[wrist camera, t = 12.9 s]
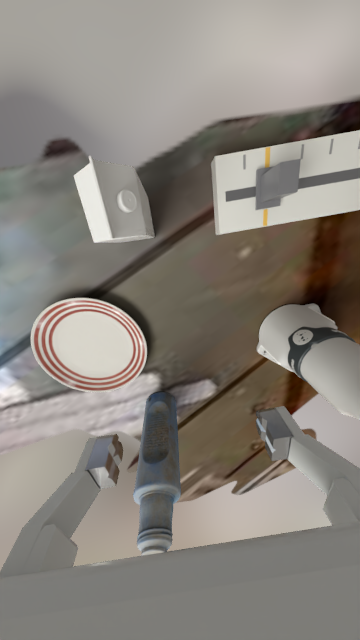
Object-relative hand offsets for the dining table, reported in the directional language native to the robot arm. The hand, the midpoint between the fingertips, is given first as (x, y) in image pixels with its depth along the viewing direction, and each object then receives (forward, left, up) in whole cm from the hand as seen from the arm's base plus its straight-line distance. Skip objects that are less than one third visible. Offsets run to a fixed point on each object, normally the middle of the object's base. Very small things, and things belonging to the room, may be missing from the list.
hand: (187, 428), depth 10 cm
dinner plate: (+5, +25, -35) cm, 43 cm away
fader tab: (0, -25, -31) cm, 40 cm away
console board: (-4, -30, -34) cm, 46 cm away
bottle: (-22, +30, -34) cm, 51 cm away
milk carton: (+15, -5, -34) cm, 38 cm away
